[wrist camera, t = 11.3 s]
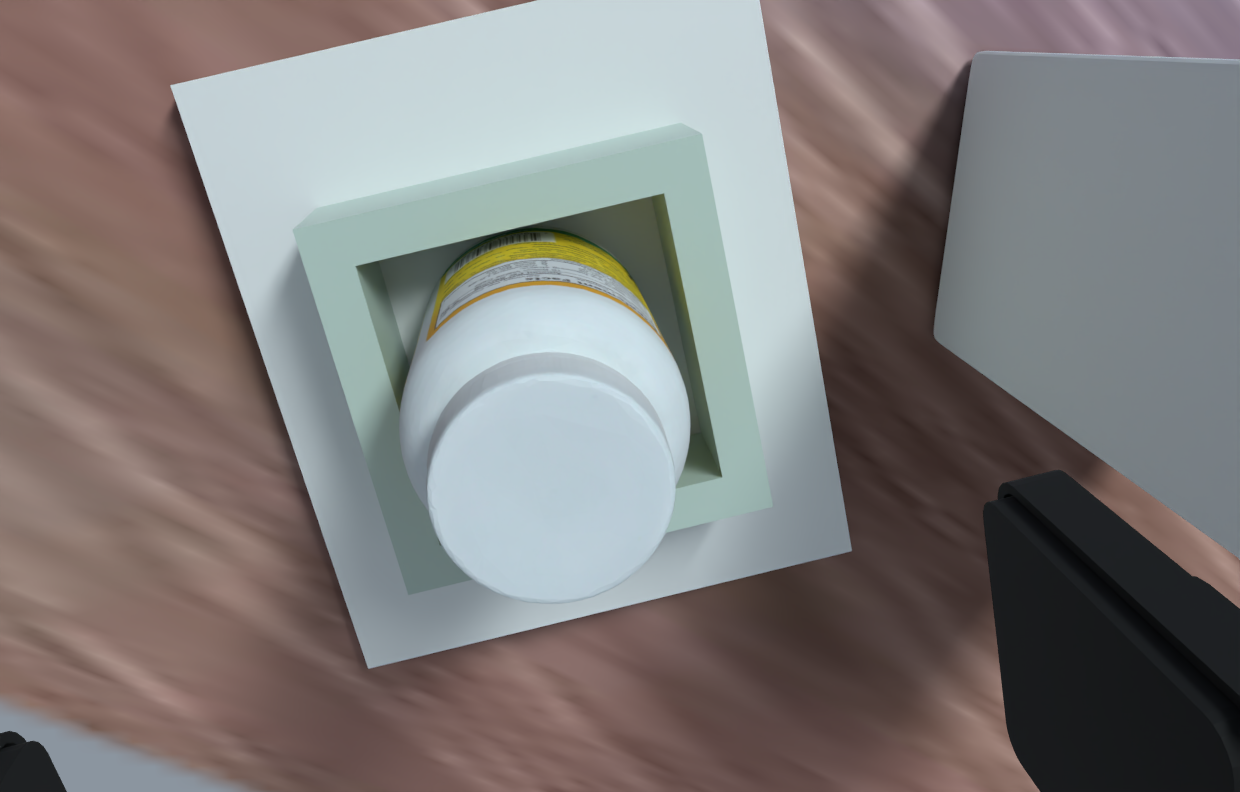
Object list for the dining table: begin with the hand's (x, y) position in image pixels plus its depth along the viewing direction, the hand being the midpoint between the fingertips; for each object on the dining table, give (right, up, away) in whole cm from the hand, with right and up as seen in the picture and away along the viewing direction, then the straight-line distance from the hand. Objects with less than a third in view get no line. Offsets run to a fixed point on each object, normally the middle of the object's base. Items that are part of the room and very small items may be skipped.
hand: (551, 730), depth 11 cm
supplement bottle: (-1, +5, +16) cm, 17 cm away
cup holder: (-1, +5, +17) cm, 18 cm away
